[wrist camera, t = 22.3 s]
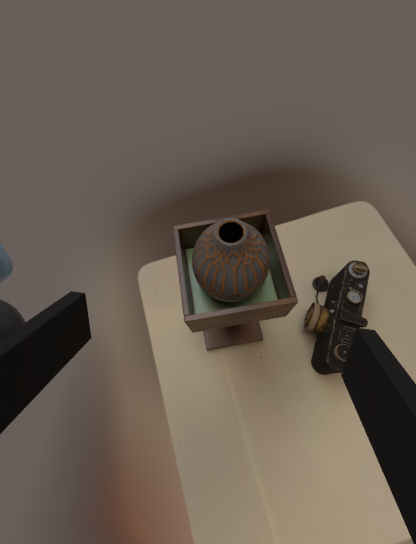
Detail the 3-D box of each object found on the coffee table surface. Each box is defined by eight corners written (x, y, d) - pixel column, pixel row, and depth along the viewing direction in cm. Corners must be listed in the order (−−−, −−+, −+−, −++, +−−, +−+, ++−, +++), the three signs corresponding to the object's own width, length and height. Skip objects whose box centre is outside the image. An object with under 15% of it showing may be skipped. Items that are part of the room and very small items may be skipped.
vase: (217, 237, 29) (212, 181, 21) (275, 264, 27) (295, 213, 19) (184, 290, 27) (165, 249, 18) (245, 322, 25) (253, 293, 17)
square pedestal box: (205, 352, 42) (184, 322, 21) (197, 296, 45) (172, 225, 25) (264, 341, 42) (298, 301, 21) (250, 286, 45) (269, 208, 25)
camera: (314, 269, 46) (331, 248, 38) (354, 282, 44) (379, 261, 37) (290, 362, 40) (304, 357, 33) (334, 379, 39) (359, 378, 31)
